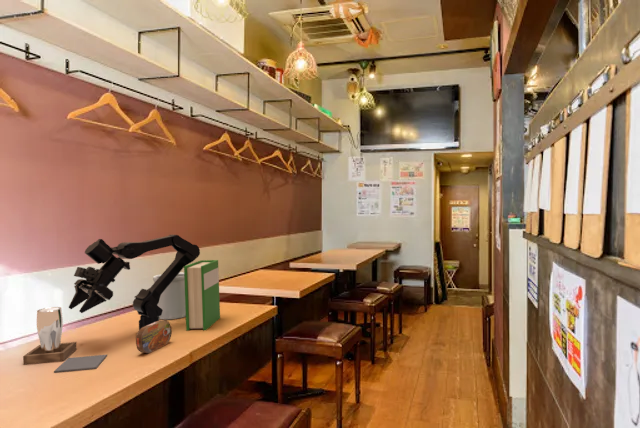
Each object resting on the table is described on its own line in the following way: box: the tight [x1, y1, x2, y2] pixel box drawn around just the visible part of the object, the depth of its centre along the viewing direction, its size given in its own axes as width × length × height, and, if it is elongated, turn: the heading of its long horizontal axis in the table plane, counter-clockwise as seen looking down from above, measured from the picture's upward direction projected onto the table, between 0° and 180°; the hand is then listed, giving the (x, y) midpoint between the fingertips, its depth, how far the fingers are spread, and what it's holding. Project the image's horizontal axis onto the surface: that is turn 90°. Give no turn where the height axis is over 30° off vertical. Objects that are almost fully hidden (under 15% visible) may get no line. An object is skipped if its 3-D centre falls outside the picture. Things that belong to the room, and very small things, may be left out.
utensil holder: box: [152, 271, 186, 321], centre depth 184 cm, size 15×15×18 cm
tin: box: [135, 319, 173, 354], centre depth 141 cm, size 15×3×8 cm, turn 163°
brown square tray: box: [22, 341, 77, 366], centre depth 135 cm, size 11×11×2 cm
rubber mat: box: [53, 354, 108, 374], centre depth 128 cm, size 11×11×1 cm
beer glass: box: [36, 306, 64, 354], centre depth 135 cm, size 7×7×15 cm
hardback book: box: [183, 259, 221, 332], centre depth 169 cm, size 18×7×24 cm, turn 176°
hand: (74, 310), depth 141 cm, fingers open, 9 cm apart
